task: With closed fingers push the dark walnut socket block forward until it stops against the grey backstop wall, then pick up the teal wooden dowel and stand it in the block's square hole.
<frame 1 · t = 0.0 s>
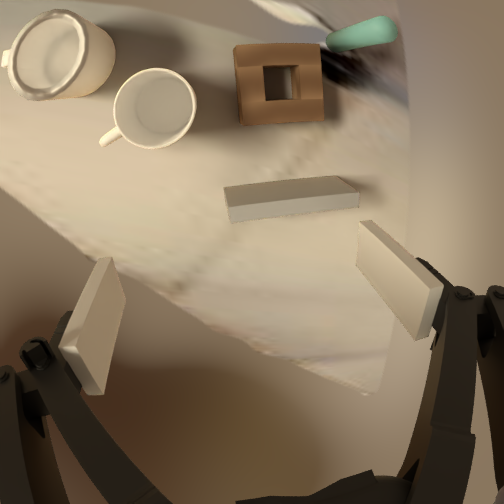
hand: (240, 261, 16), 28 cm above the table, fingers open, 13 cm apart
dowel: (336, 42, 35), on the table
mug: (73, 60, 31), on the table
wall: (281, 187, 44), on the table
cup: (152, 112, 37), on the table
block: (278, 83, 36), point 2 cm above the table, slide at 0.0 cm
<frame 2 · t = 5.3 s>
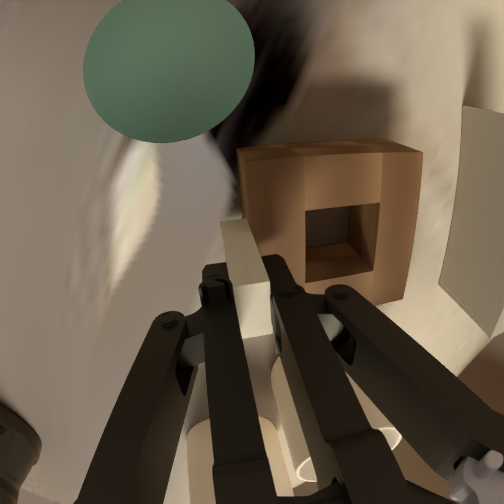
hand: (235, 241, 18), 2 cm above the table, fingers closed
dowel: (189, 86, 16), on the table
mug: (228, 440, 32), on the table
wall: (462, 201, 22), on the table
cup: (318, 373, 29), on the table
block: (330, 229, 19), point 2 cm above the table, slide at 1.3 cm, touching gripper
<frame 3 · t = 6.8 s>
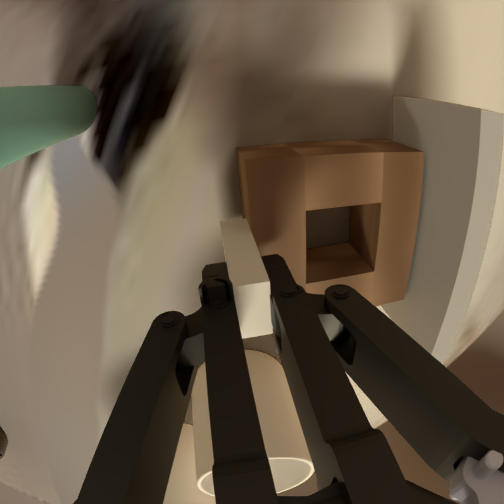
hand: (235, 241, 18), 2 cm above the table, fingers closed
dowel: (73, 110, 15), on the table
mug: (170, 446, 32), on the table
wall: (399, 207, 21), on the table
cup: (247, 388, 28), on the table
block: (330, 229, 19), point 2 cm above the table, slide at 8.2 cm, touching gripper
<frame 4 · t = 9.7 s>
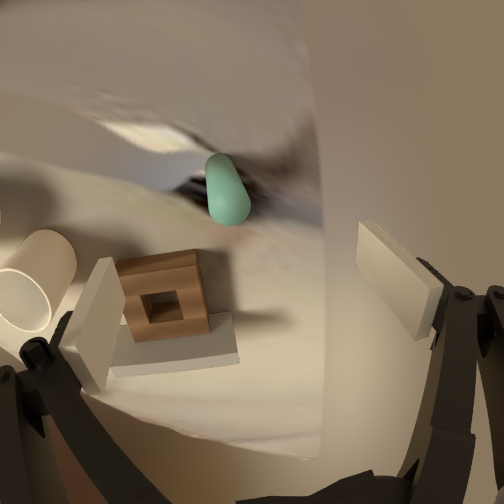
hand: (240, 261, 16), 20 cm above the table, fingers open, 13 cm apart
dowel: (219, 166, 34), on the table
wall: (174, 324, 43), on the table
cup: (42, 262, 36), on the table
block: (163, 298, 38), point 2 cm above the table, slide at 8.4 cm
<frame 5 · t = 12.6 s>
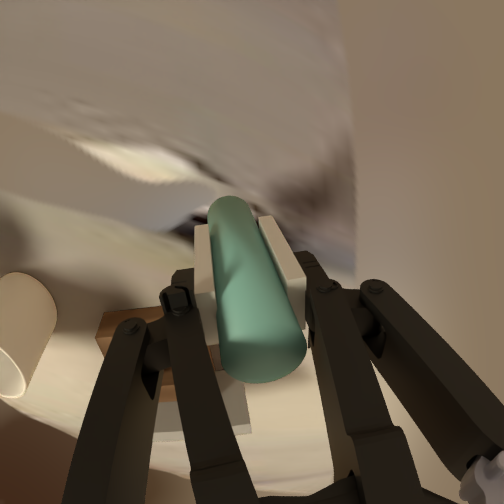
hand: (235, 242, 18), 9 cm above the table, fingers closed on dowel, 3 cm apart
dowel: (229, 216, 22), point 5 cm above the table, touching gripper
wall: (175, 381, 35), on the table
cup: (19, 308, 28), on the table
block: (160, 357, 31), point 2 cm above the table, slide at 8.4 cm
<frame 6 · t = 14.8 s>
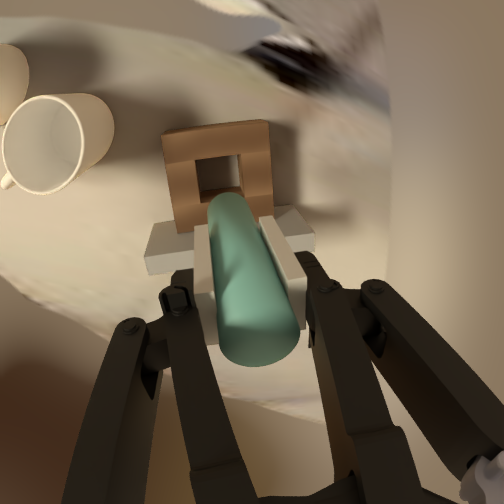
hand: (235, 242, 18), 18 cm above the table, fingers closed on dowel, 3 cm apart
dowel: (228, 212, 23), point 13 cm above the table, touching gripper
wall: (224, 221, 37), on the table
cup: (69, 139, 29), on the table
block: (219, 174, 32), point 2 cm above the table, slide at 8.4 cm
when the fingers open (5 cm above the table, at t = 17.7 s): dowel stays where it is, resting in block.
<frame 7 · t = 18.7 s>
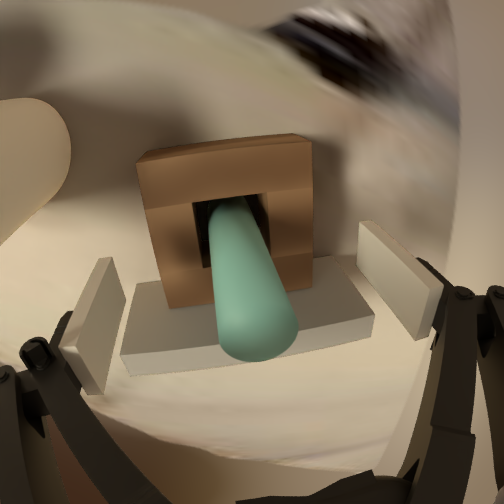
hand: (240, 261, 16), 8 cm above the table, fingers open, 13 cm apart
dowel: (228, 210, 23), resting in block
wall: (236, 280, 26), on the table
cup: (13, 165, 19), on the table
block: (230, 219, 21), point 2 cm above the table, slide at 8.4 cm
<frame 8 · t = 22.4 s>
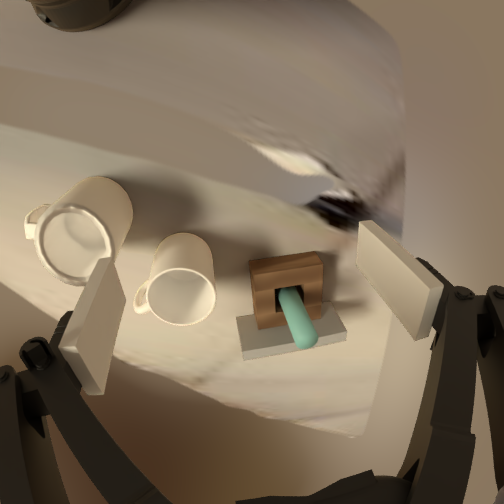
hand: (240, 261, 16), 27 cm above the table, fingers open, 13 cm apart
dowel: (283, 284, 50), resting in block
mug: (91, 209, 40), on the table
wall: (284, 314, 53), on the table
cup: (172, 262, 46), on the table
block: (286, 291, 49), point 2 cm above the table, slide at 8.4 cm
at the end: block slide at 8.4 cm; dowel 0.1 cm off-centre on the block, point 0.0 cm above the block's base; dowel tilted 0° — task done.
